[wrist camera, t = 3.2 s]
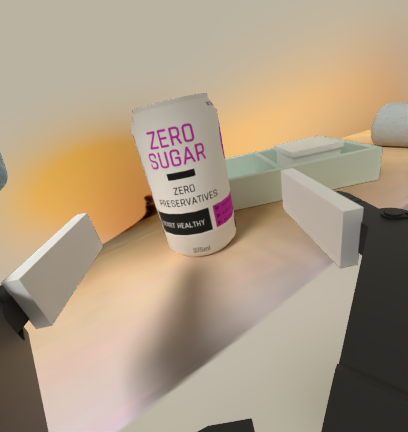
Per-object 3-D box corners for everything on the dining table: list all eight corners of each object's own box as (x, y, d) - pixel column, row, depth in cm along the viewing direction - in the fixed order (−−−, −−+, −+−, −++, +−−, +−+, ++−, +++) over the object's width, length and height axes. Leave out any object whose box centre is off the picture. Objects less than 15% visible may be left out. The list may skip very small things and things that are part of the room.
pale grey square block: (292, 184, 35) (291, 152, 33) (275, 171, 41) (273, 145, 39) (342, 173, 34) (344, 140, 32) (316, 163, 41) (317, 135, 39)
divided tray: (190, 219, 33) (183, 190, 31) (190, 189, 45) (185, 167, 43) (378, 179, 32) (383, 147, 30) (324, 160, 44) (325, 136, 42)
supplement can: (215, 216, 32) (191, 99, 26) (251, 238, 25) (230, 86, 19) (161, 239, 29) (119, 114, 23) (185, 271, 22) (135, 105, 16)
